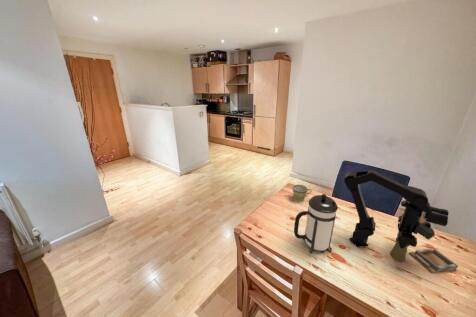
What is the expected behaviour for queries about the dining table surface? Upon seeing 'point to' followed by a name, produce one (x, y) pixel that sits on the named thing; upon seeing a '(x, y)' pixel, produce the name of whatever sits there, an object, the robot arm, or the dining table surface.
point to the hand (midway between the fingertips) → (401, 244)
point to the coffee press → (318, 222)
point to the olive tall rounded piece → (399, 252)
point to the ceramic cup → (300, 192)
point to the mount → (433, 260)
